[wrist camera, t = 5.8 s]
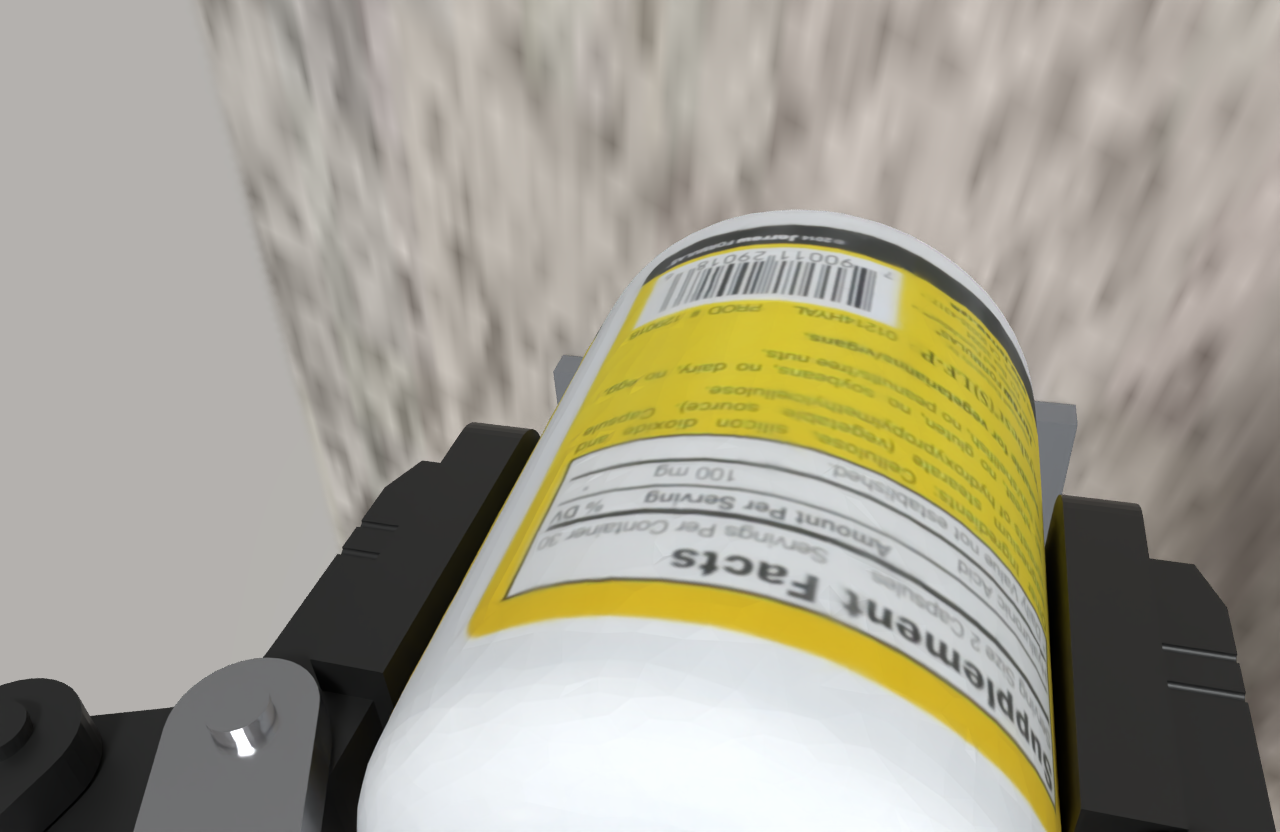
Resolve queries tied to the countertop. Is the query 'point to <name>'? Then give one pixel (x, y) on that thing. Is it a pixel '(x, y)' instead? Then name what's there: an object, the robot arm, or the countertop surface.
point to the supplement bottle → (756, 567)
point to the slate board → (1051, 428)
